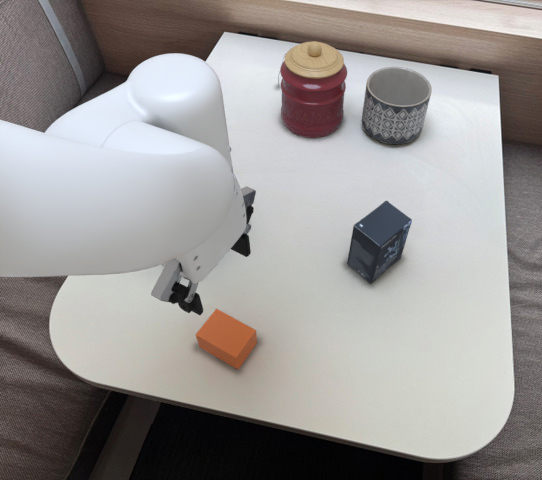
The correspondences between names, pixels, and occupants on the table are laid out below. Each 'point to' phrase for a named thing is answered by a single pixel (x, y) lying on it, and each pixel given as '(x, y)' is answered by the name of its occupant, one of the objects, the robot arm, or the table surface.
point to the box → (378, 241)
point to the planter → (395, 104)
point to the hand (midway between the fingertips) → (216, 278)
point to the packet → (227, 338)
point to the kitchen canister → (313, 89)
